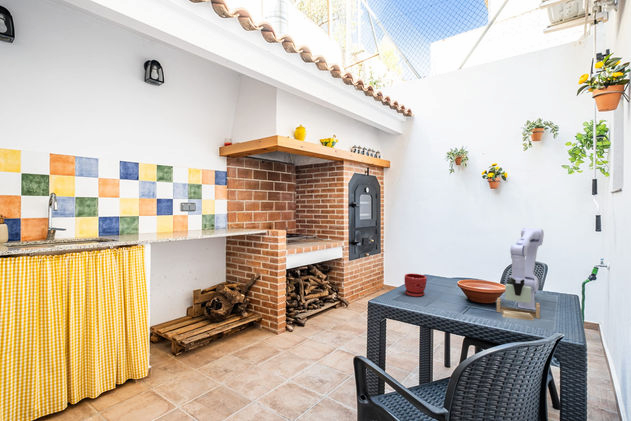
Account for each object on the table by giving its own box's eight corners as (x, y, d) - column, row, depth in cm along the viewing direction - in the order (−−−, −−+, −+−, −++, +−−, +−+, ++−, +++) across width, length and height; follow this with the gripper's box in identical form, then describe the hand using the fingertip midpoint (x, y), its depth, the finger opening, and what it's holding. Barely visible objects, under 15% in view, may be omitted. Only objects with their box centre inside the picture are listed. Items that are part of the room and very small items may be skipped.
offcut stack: (501, 315, 166) (502, 310, 166) (531, 318, 161) (532, 313, 161) (503, 317, 163) (503, 312, 163) (533, 321, 158) (533, 315, 158)
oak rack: (497, 308, 176) (497, 297, 176) (539, 314, 166) (539, 303, 166) (496, 311, 170) (496, 300, 170) (539, 318, 160) (539, 306, 160)
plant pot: (402, 296, 199) (403, 276, 198) (405, 291, 211) (405, 272, 210) (425, 298, 194) (425, 278, 193) (427, 293, 206) (427, 274, 205)
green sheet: (505, 297, 173) (505, 283, 173) (530, 301, 167) (530, 286, 167) (505, 299, 169) (505, 285, 169) (530, 303, 163) (530, 288, 163)
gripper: (509, 265, 176) (509, 290, 176) (508, 269, 164) (508, 296, 164) (525, 266, 172) (524, 292, 173) (525, 271, 160) (525, 298, 160)
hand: (517, 294), depth 168 cm, fingers closed on green sheet, 4 cm apart
